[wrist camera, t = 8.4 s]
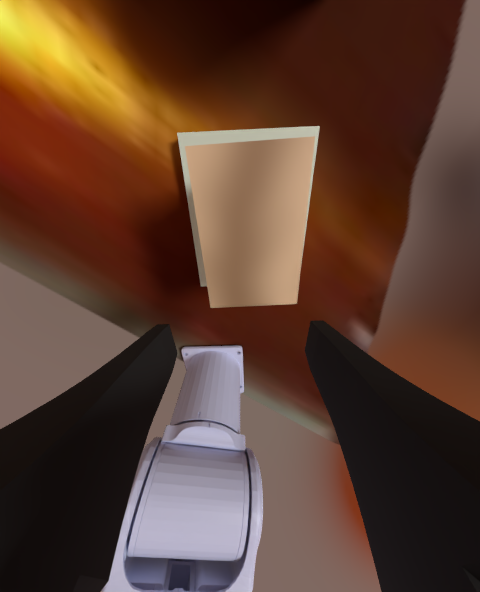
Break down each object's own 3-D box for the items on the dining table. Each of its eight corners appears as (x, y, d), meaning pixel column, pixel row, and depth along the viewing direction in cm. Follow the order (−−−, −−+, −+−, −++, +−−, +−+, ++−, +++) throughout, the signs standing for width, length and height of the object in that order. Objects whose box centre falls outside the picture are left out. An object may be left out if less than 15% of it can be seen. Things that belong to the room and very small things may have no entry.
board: (296, 279, 19) (298, 283, 18) (202, 282, 19) (200, 286, 18) (314, 130, 13) (319, 126, 12) (181, 137, 13) (177, 132, 13)
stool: (281, 165, 13) (315, 136, 7) (276, 266, 17) (296, 303, 11) (210, 170, 14) (184, 146, 7) (221, 269, 17) (210, 307, 11)
